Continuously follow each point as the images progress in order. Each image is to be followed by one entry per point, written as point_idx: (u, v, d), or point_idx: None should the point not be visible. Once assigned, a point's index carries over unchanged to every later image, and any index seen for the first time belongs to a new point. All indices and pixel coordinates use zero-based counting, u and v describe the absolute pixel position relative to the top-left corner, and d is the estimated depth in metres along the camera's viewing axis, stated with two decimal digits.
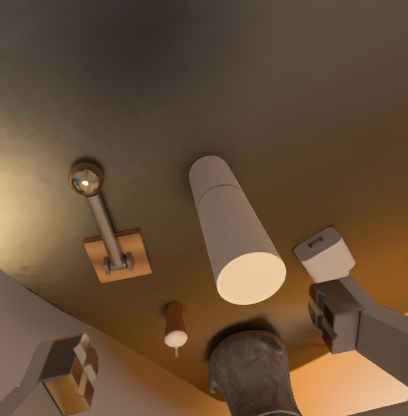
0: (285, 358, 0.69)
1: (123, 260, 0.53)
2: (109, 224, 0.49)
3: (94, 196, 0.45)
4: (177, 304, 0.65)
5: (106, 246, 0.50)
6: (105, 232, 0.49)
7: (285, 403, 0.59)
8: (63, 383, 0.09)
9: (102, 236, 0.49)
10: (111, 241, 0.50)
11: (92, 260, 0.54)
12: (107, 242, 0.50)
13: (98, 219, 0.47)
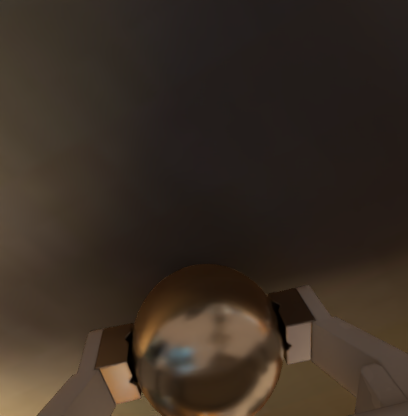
0: None
1: None
2: None
3: None
4: None
5: None
6: None
7: None
8: (118, 371, 0.09)
9: None
10: None
11: None
12: None
13: None
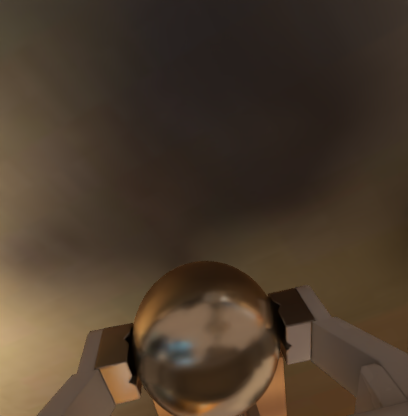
0: None
1: None
2: None
3: None
4: None
5: None
6: None
7: None
8: (118, 371, 0.09)
9: None
10: None
11: None
12: None
13: None
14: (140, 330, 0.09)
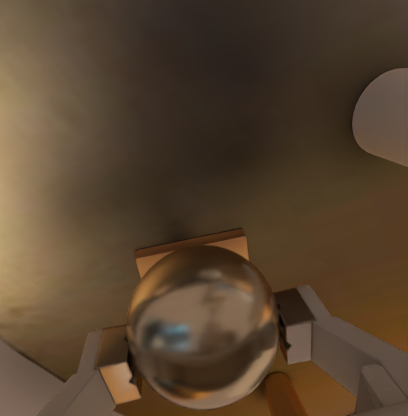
0: None
1: None
2: None
3: None
4: (285, 376, 0.36)
5: None
6: None
7: None
8: (118, 371, 0.09)
9: None
10: None
11: None
12: None
13: None
14: (138, 345, 0.08)
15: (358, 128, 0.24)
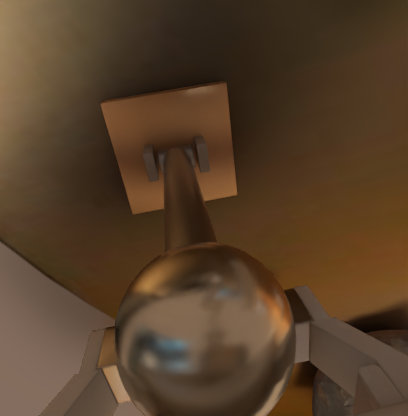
0: None
1: (192, 164, 0.23)
2: None
3: None
4: None
5: None
6: None
7: None
8: None
9: None
10: None
11: (117, 152, 0.25)
12: None
13: None
14: None
15: None
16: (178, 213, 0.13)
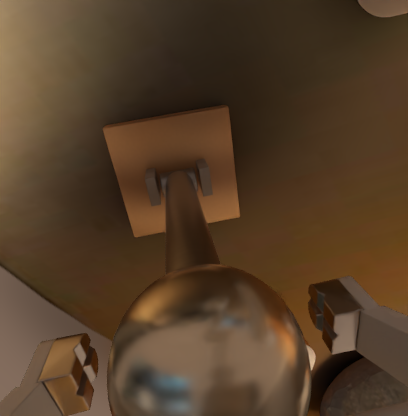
0: None
1: (194, 187, 0.23)
2: None
3: None
4: None
5: None
6: None
7: None
8: (63, 383, 0.09)
9: None
10: None
11: (119, 176, 0.24)
12: None
13: None
14: None
15: None
16: (179, 235, 0.12)
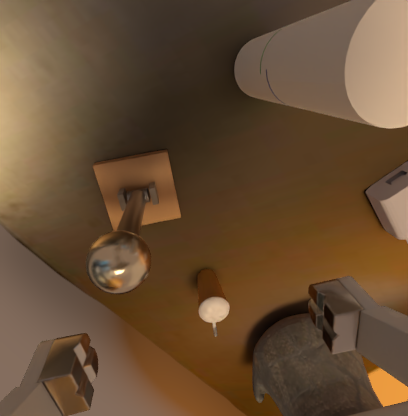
0: None
1: (147, 199, 0.39)
2: (141, 222, 0.32)
3: None
4: (212, 271, 0.49)
5: None
6: None
7: (374, 406, 0.41)
8: (63, 383, 0.09)
9: None
10: None
11: (103, 193, 0.40)
12: None
13: None
14: (91, 279, 0.22)
15: (236, 77, 0.37)
16: (122, 223, 0.28)
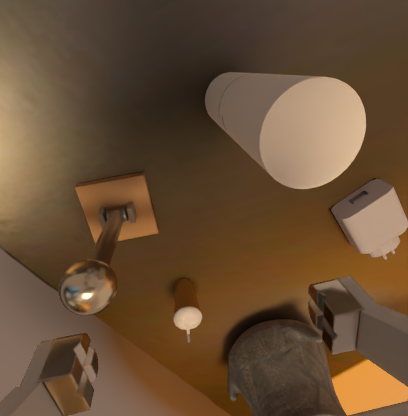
0: (324, 353, 0.55)
1: (125, 219, 0.43)
2: (115, 245, 0.35)
3: None
4: (189, 280, 0.53)
5: None
6: None
7: (331, 406, 0.45)
8: (63, 383, 0.09)
9: None
10: None
11: (85, 211, 0.44)
12: None
13: None
14: (63, 303, 0.26)
15: (206, 108, 0.41)
16: (95, 248, 0.32)
